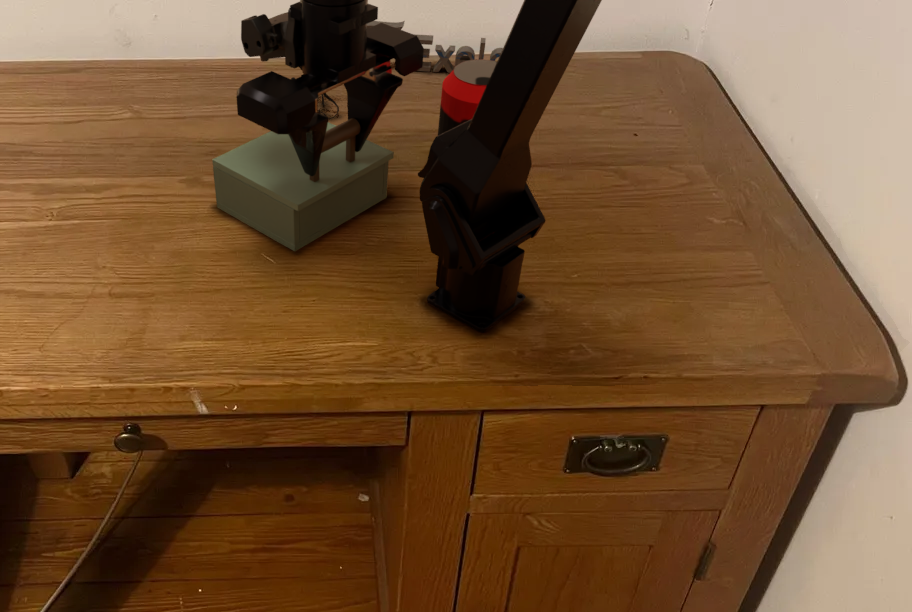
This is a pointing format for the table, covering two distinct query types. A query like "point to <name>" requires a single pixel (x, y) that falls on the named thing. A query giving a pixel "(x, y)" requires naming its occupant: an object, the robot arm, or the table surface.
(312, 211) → the compartment
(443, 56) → the extruded letter logo
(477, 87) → the soda can
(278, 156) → the lid
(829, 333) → the table surface
